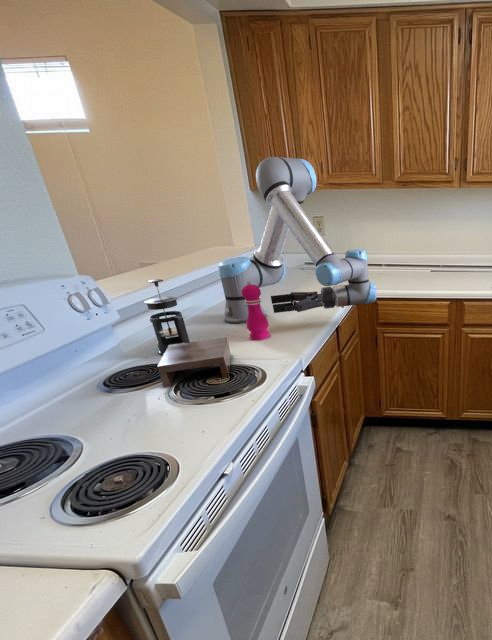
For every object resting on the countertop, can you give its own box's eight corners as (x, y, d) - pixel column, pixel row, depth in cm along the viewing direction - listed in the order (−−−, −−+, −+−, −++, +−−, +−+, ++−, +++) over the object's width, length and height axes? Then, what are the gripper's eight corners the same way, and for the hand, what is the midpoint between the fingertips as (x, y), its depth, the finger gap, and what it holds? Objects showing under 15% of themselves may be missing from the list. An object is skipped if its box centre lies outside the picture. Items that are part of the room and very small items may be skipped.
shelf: (174, 363, 125) (168, 345, 123) (231, 355, 130) (226, 337, 128) (163, 387, 110) (157, 366, 108) (228, 376, 115) (223, 356, 113)
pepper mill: (263, 341, 142) (252, 282, 134) (245, 340, 144) (232, 282, 135) (274, 334, 149) (264, 278, 140) (256, 333, 150) (245, 277, 142)
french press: (151, 353, 134) (128, 282, 125) (176, 343, 142) (156, 276, 133) (177, 357, 130) (156, 284, 121) (201, 347, 138) (183, 277, 129)
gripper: (341, 315, 141) (276, 324, 134) (329, 299, 162) (272, 306, 156) (339, 293, 138) (272, 301, 131) (326, 280, 159) (268, 286, 153)
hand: (272, 304), depth 143 cm, fingers open, 13 cm apart
